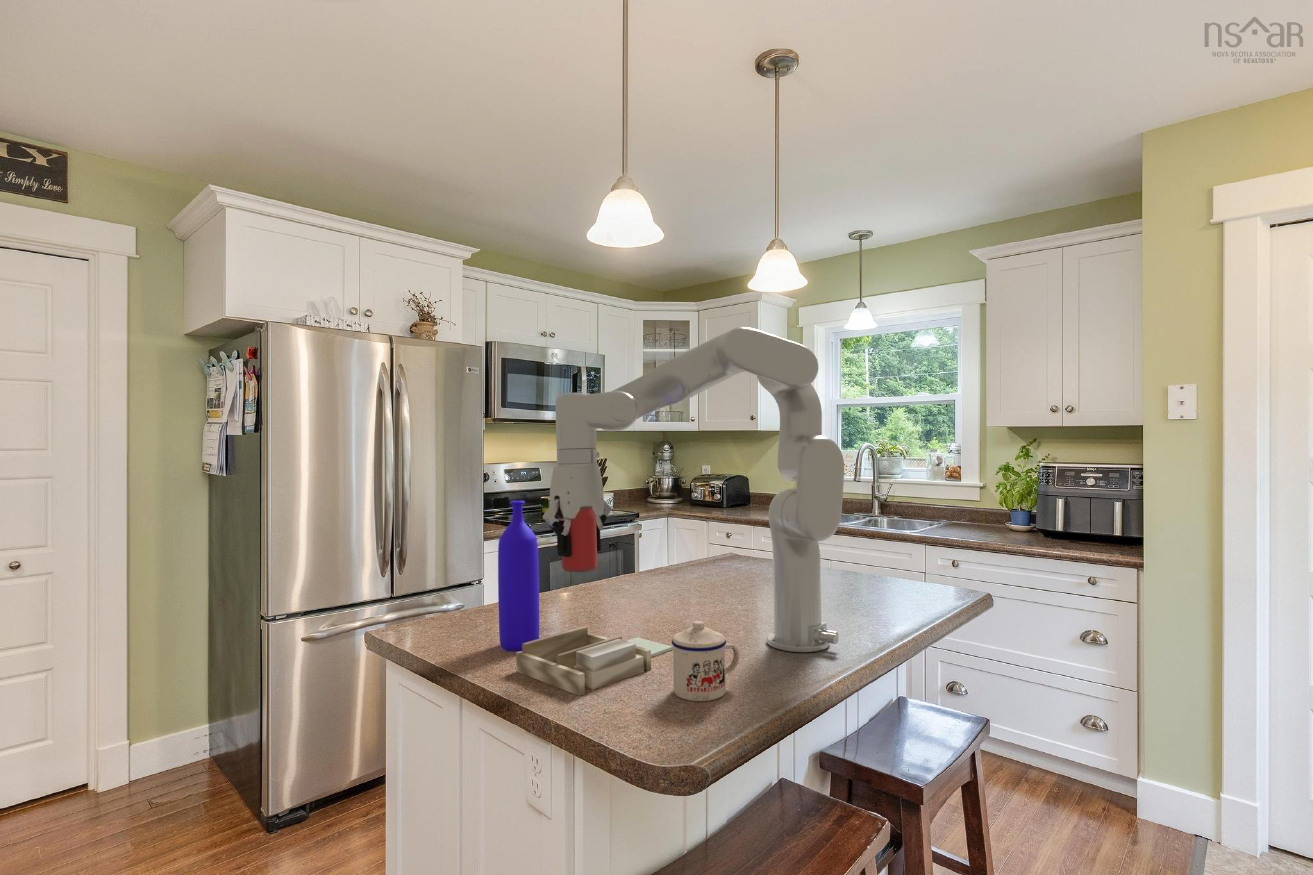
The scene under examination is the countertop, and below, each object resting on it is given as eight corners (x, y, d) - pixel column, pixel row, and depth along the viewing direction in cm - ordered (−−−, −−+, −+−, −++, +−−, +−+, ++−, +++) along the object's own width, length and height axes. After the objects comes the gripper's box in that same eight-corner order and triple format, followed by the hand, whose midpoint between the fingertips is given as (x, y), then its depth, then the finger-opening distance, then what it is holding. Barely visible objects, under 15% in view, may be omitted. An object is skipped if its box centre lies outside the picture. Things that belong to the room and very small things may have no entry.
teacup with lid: (686, 706, 105) (684, 632, 105) (664, 687, 113) (662, 618, 113) (752, 694, 109) (751, 623, 109) (726, 676, 118) (725, 610, 118)
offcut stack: (643, 672, 121) (643, 642, 121) (592, 690, 113) (591, 658, 113) (625, 666, 125) (625, 637, 125) (574, 683, 116) (573, 652, 116)
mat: (672, 649, 133) (672, 646, 133) (637, 662, 126) (637, 659, 126) (637, 640, 140) (637, 637, 140) (602, 651, 133) (602, 648, 133)
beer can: (591, 573, 121) (589, 507, 121) (557, 572, 123) (555, 507, 123) (601, 566, 128) (599, 504, 128) (568, 566, 129) (567, 504, 129)
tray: (651, 668, 122) (650, 641, 122) (580, 695, 110) (579, 665, 110) (586, 649, 134) (586, 624, 134) (516, 671, 122) (516, 644, 122)
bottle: (547, 642, 140) (545, 499, 140) (524, 654, 132) (521, 503, 132) (515, 638, 143) (513, 498, 143) (490, 649, 135) (488, 502, 136)
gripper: (597, 456, 134) (600, 545, 134) (527, 460, 121) (529, 558, 121) (623, 456, 129) (626, 548, 129) (552, 460, 116) (555, 562, 116)
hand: (579, 552), depth 125 cm, fingers closed on beer can, 6 cm apart
